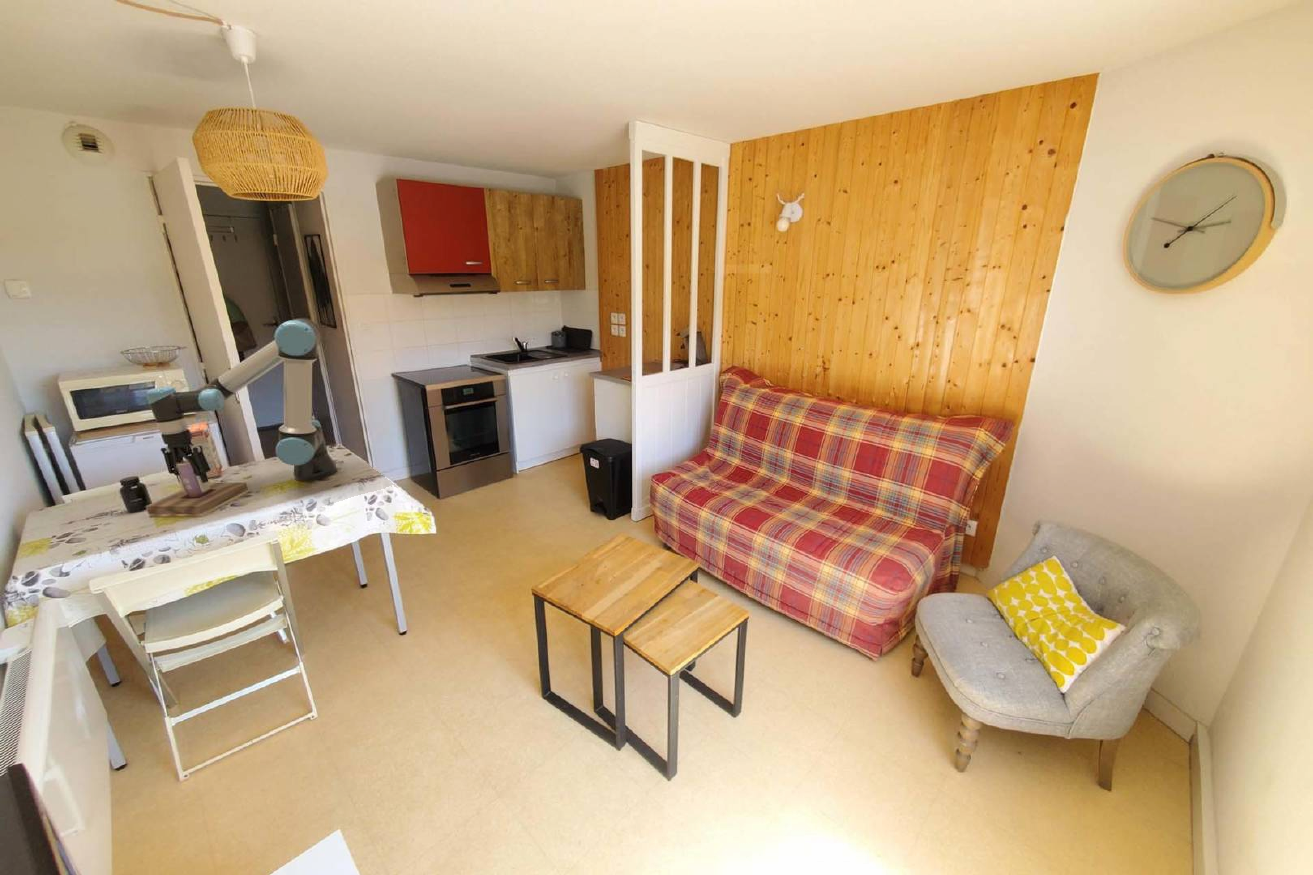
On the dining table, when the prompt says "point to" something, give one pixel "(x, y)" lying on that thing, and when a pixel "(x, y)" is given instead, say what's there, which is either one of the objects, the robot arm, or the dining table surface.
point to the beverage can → (190, 479)
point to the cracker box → (206, 447)
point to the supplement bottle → (134, 494)
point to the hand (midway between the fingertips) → (197, 490)
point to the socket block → (197, 501)
